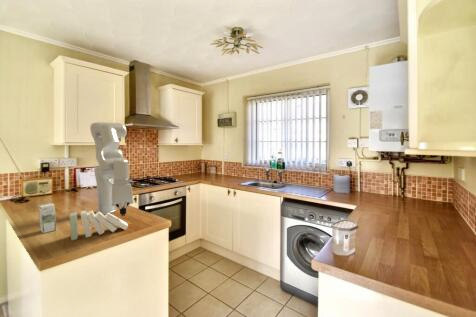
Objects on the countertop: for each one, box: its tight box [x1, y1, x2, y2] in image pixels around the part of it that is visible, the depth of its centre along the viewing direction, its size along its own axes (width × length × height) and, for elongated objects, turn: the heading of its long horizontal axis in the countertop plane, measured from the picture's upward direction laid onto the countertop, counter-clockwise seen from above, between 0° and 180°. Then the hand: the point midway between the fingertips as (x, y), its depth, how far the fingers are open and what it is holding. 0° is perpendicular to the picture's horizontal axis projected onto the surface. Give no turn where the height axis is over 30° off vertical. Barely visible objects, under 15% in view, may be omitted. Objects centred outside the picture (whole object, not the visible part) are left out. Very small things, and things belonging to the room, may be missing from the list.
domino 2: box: [87, 210, 105, 236], centre depth 120 cm, size 2×6×12 cm, turn 30°
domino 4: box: [104, 213, 129, 231], centre depth 125 cm, size 2×6×12 cm
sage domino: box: [69, 211, 79, 241], centre depth 115 cm, size 2×6×12 cm, turn 31°
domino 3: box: [94, 212, 117, 233], centre depth 122 cm, size 2×6×12 cm
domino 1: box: [80, 210, 93, 238], centre depth 117 cm, size 2×6×12 cm, turn 31°
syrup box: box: [38, 202, 57, 234], centre depth 123 cm, size 6×6×14 cm
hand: (123, 215), depth 126 cm, fingers closed
